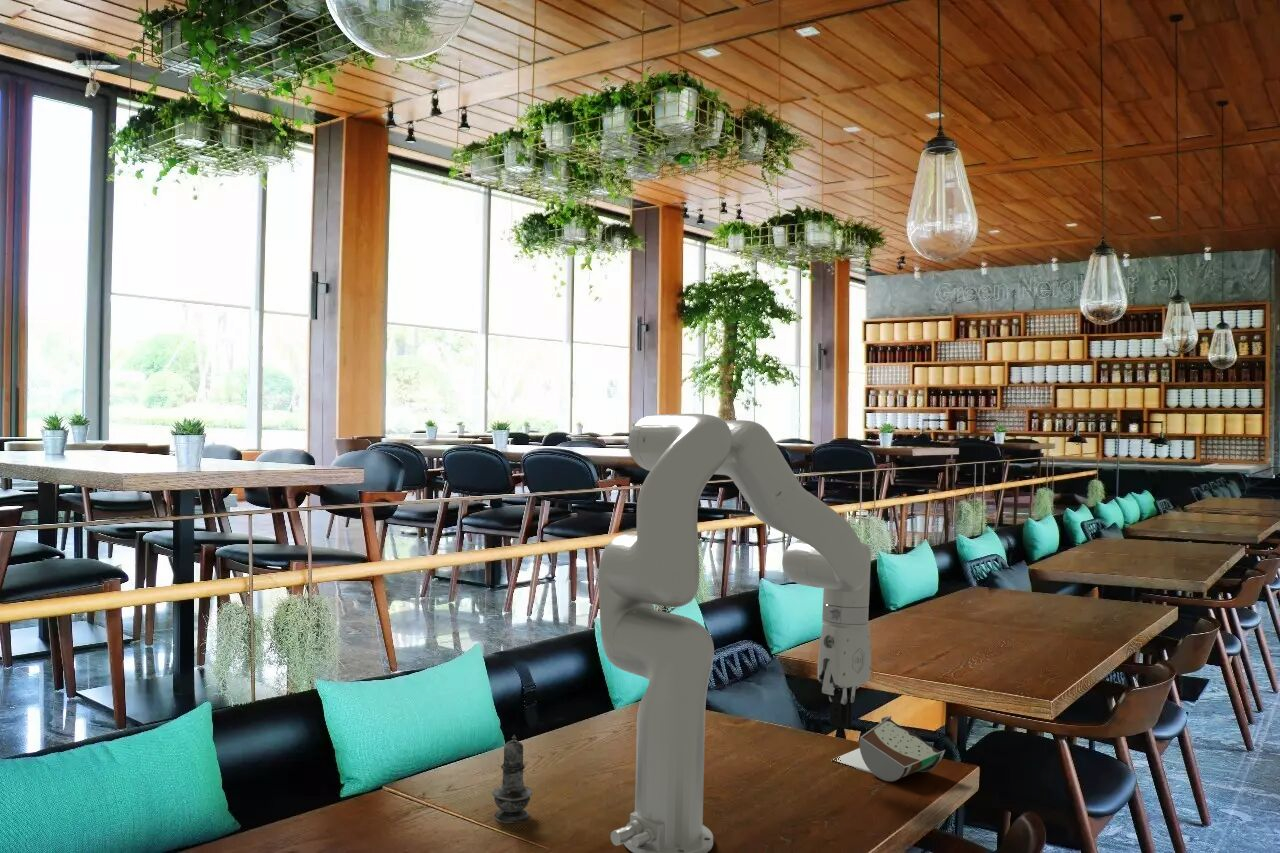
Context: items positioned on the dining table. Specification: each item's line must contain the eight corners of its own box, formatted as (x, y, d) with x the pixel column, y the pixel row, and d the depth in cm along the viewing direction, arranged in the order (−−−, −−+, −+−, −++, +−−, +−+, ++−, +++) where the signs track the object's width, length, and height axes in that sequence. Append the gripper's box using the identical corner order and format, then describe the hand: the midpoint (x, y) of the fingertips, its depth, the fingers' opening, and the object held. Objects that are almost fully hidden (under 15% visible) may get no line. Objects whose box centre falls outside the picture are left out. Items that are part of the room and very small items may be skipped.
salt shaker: (512, 805, 143) (515, 726, 143) (540, 816, 139) (542, 734, 140) (483, 816, 138) (485, 735, 139) (510, 828, 135) (513, 744, 135)
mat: (887, 777, 159) (887, 776, 159) (831, 761, 167) (831, 759, 167) (915, 764, 166) (915, 762, 166) (860, 749, 174) (860, 747, 174)
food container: (905, 804, 155) (941, 781, 161) (912, 772, 153) (947, 751, 159) (847, 762, 164) (882, 743, 170) (852, 732, 162) (888, 714, 168)
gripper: (841, 622, 149) (836, 739, 149) (887, 615, 160) (883, 723, 159) (801, 615, 154) (796, 728, 154) (848, 608, 165) (844, 714, 165)
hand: (840, 725), depth 157 cm, fingers closed
